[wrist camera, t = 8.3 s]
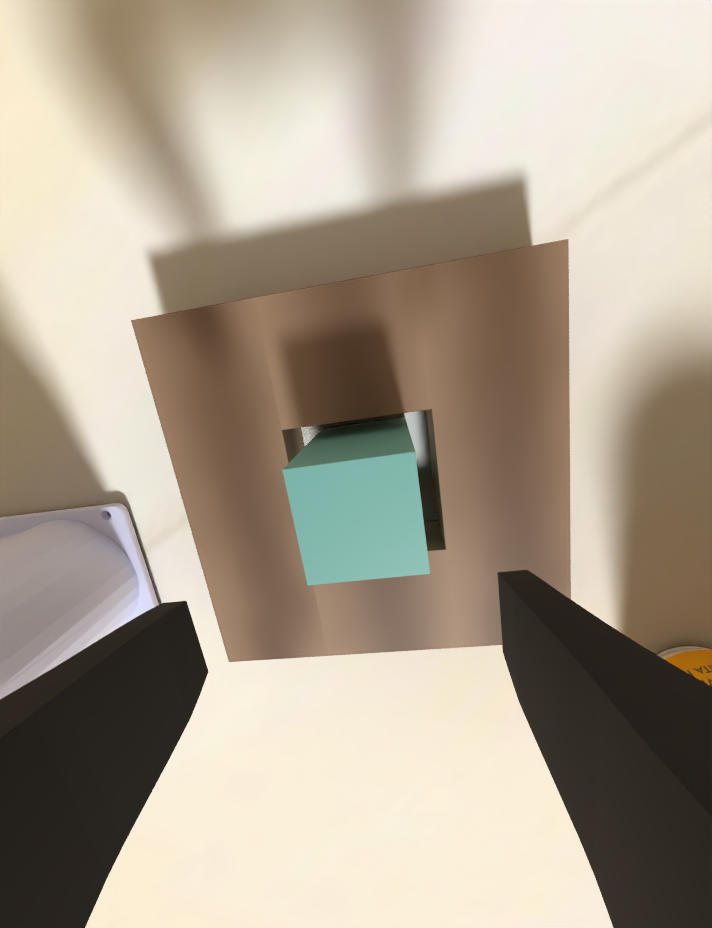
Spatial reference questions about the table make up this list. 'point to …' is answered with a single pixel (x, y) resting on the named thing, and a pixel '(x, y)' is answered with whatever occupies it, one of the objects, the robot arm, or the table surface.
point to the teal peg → (358, 504)
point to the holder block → (364, 396)
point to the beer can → (691, 661)
